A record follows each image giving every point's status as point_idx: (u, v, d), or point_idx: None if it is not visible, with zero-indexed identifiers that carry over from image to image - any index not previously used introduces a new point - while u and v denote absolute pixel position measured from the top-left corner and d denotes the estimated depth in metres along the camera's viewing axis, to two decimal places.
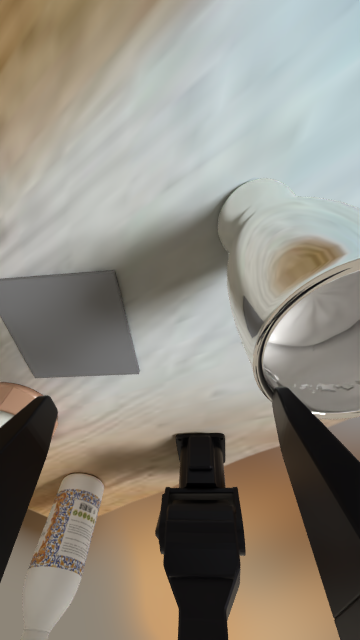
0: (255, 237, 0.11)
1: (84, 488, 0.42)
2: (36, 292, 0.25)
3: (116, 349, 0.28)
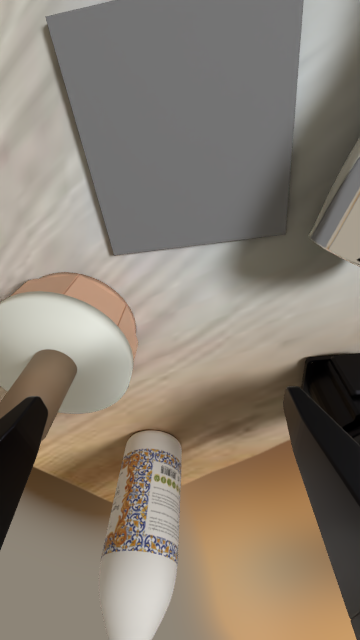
0: None
1: (161, 447, 0.31)
2: (145, 36, 0.13)
3: (261, 178, 0.17)
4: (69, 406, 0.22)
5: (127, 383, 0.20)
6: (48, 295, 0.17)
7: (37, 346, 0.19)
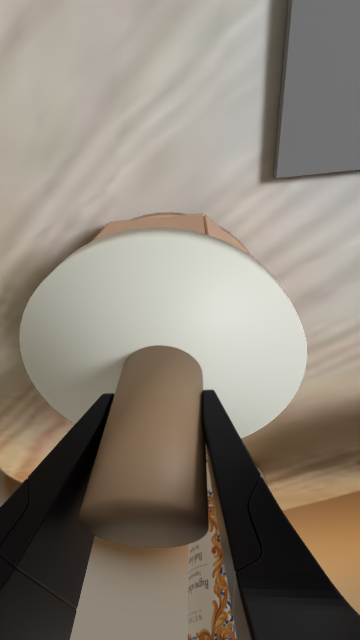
0: None
1: None
2: None
3: None
4: None
5: (281, 408, 0.12)
6: (187, 233, 0.08)
7: (142, 339, 0.10)
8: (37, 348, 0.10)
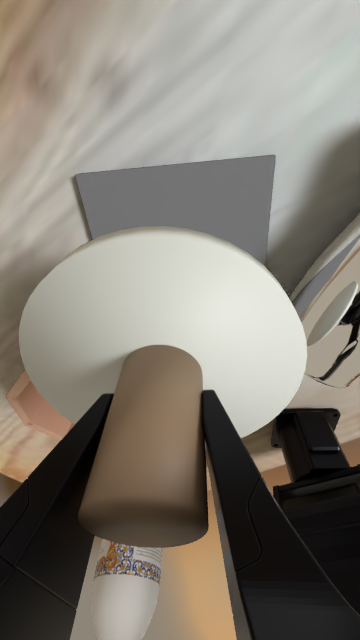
0: (304, 288, 0.17)
1: None
2: (152, 192, 0.17)
3: None
4: None
5: (281, 408, 0.12)
6: (187, 232, 0.08)
7: (141, 338, 0.10)
8: (36, 347, 0.10)
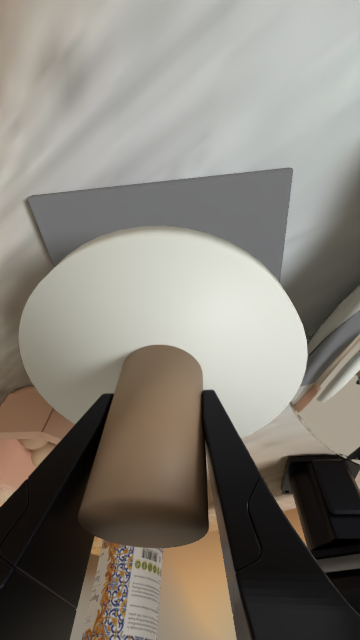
0: (329, 340, 0.13)
1: None
2: (129, 218, 0.13)
3: None
4: None
5: (281, 408, 0.12)
6: (187, 232, 0.08)
7: (141, 338, 0.10)
8: (36, 347, 0.10)
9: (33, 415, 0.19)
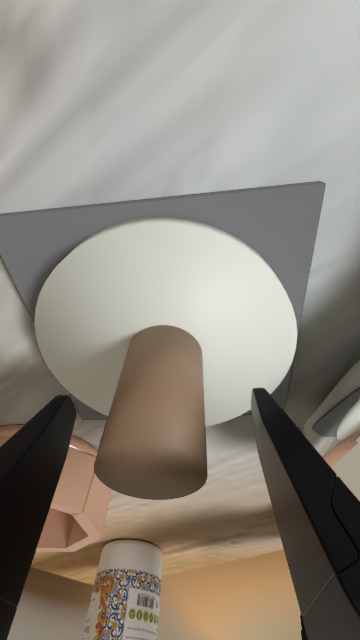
0: None
1: (139, 566, 0.28)
2: None
3: None
4: None
5: (274, 386, 0.13)
6: (188, 221, 0.09)
7: (146, 319, 0.11)
8: (50, 328, 0.11)
9: None
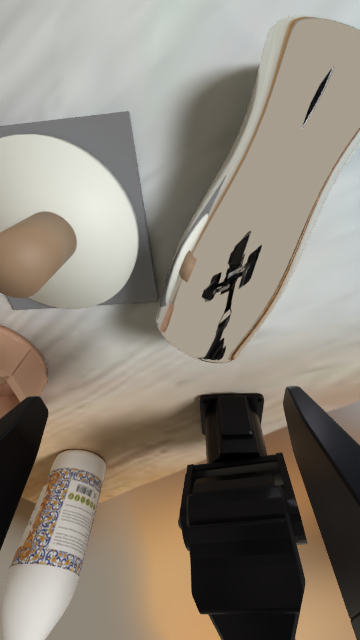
0: (173, 257, 0.16)
1: (81, 466, 0.34)
2: None
3: None
4: (65, 298, 0.20)
5: (132, 265, 0.19)
6: (48, 135, 0.15)
7: (33, 206, 0.17)
8: None
9: None
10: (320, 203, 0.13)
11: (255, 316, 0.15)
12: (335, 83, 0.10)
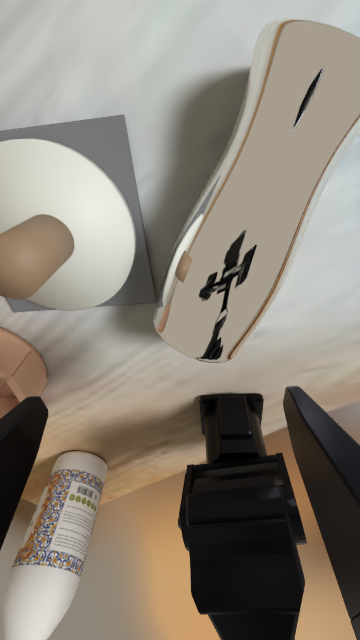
0: None
1: (82, 468, 0.34)
2: None
3: None
4: (63, 299, 0.20)
5: (129, 266, 0.19)
6: (45, 140, 0.15)
7: (30, 209, 0.17)
8: None
9: None
10: (313, 202, 0.13)
11: (251, 315, 0.15)
12: (324, 84, 0.10)
